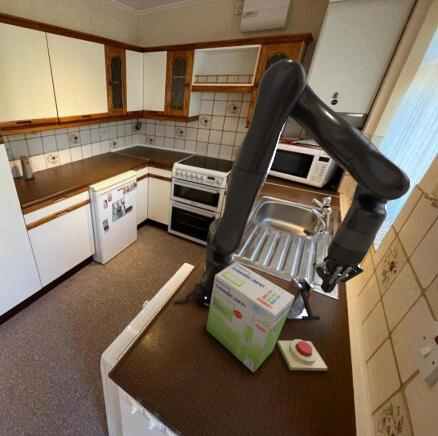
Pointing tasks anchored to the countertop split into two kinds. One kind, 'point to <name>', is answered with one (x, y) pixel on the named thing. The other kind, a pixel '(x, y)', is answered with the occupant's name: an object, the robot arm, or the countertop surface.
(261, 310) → the toothbrush box
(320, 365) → the button block
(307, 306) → the press lever
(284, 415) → the countertop surface
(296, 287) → the grey upright angular piece
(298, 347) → the stop button
